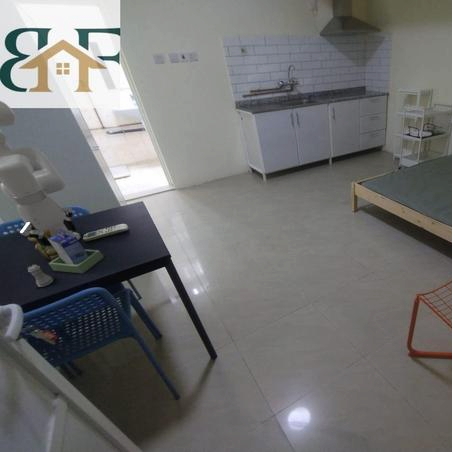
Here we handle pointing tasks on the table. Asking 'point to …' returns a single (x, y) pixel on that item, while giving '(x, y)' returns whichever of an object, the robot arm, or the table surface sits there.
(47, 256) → the decorative figurine
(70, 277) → the table surface
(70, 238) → the ink cartridge box
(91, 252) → the open rectangular box
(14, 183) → the robot arm
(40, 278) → the rook chess piece
